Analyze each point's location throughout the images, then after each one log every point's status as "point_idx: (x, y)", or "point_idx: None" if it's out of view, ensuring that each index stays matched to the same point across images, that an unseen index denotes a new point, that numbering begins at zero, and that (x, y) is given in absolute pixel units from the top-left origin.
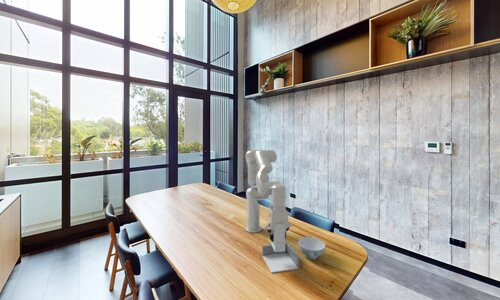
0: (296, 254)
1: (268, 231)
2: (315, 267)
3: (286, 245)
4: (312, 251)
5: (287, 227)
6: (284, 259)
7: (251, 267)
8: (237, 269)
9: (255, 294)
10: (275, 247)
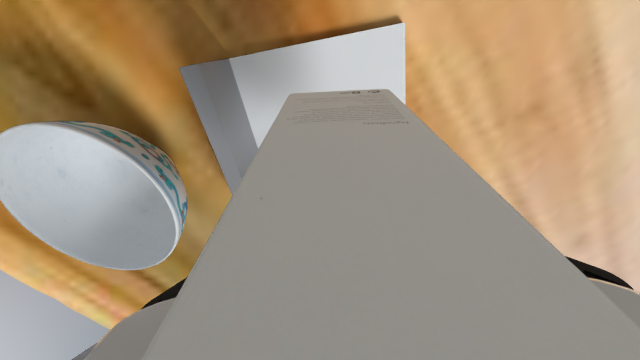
0: (205, 110)
1: (590, 270)
2: (125, 66)
3: None
4: (81, 126)
5: (113, 332)
6: None
7: (504, 92)
8: (600, 78)
9: None
10: (393, 98)
